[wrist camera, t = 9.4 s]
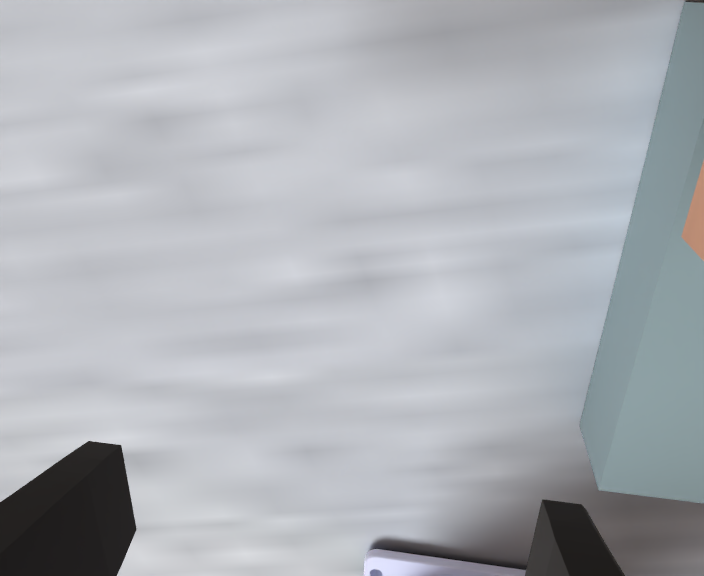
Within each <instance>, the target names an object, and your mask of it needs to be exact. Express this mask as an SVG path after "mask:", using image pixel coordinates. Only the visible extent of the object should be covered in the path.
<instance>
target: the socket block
mask: <svg viewBox="0 0 704 576" xmlns="http://www.w3.org/2000/svg"><path fill="white" fill-rule="evenodd" d="M703 160H704V3H702V2H684V5H683V9H682V13H681V17H680V22H679V26H678V30H677V34H676V38H675V42H674V46H673V50H672V54H671V58H670V62H669V66H668V70H667V74H666V78H665V82H664V86H663V90H662V94H661V98H660V102H659V106H658V110H657V114H656V119H655V123H654V127H653V131H652V135H651V139H650V143H649V147H648V151H647V155H646V159H645V163H644V167H643V171H642V175H641V179H640V183H639V187H638V191H637V195H636V199H635V203H634V207H633V211H632V216H631V220H630V224H629V228H628V232H627V236H626V240H625V244H624V248H623V252H622V256H621V260H620V264H619V268H618V272H617V276H616V280H615V284H614V288H613V292H612V296H611V300H610V304H609V308H608V313H607V317H606V321H605V325H604V329H603V333H602V337H601V341H600V345H599V349H598V353H597V357H596V361H595V365H594V369H593V373H592V377H591V381H590V385H589V389H588V393H587V397H586V401H585V405H584V410H583V414H582V418H581V422H580V429H581V432H582V435H583V439H584V442H585V446H586V449H587V453H588V456H589V459H590V463H591V466H592V470H593V473H594V477H595V480H596V484H597V487H598V490H600V491H608V492H616V493H624V494H632V495H640V496H648V497H656V498H664V499H672V500H680V501H688V502H696V503H704V261H703V260H702V259H701V258H700V257H699V256H698V255H697V253H696V252H695V251H694V250H693V249H692V248H691V247H690V246H689V245H688V244H687V243H686V242H685V240H684V239H683V238H682V237H681V236H682V233H683V229H684V226H685V222H686V219H687V215H688V212H689V209H690V205H691V202H692V198H693V195H694V191H695V188H696V185H697V181H698V178H699V174H700V171H701V167H702V164H703Z"/></svg>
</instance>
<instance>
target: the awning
mask: <svg viewBox="0 0 704 576" xmlns="http://www.w3.org/2000/svg"><path fill="white" fill-rule="evenodd" d="M681 237H682V238H683V239H684V240H685V242H686V243H687V244H688V245H689V246H690V247H691V248H692V249H693V250H694V251H695V252H696V253H697V255H698V256H699V257H700V258H701V259H702V260H703V261H704V160H703V164H702V167H701V171H700V174H699V178H698V181H697V185H696V188H695V191H694V195H693V198H692V202H691V205H690V209H689V212H688V215H687V219H686V222H685V226H684V229H683V233H682V236H681Z"/></svg>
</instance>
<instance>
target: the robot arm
mask: <svg viewBox="0 0 704 576" xmlns="http://www.w3.org/2000/svg"><path fill="white" fill-rule="evenodd" d="M135 531H136V525H135V519H134V514H133V508H132V502H131V497H130V491H129V486H128V480H127V475H126V469H125V464H124V458H123V453H122V447H121V445H115V444H107V443H99V442H92V441H88V442H87V443H85V444H84V445H82V446H81V447H79V448H78V449H76V450H75V451H73V452H72V453H70V454H69V455H67V456H66V457H64V458H63V459H62V460H60V461H59V462H57V463H56V464H54V465H53V466H52V467H50V468H49V469H47V470H46V471H44V472H43V473H42V474H40V475H39V476H37V477H36V478H35V479H33V480H32V481H30V482H29V483H27V484H26V485H25V486H23V487H22V488H20V489H19V490H18V491H16V492H15V493H13V494H12V495H10V496H9V497H7V498H6V499H4V500H3V501H2V502H0V576H117V574H118V571H119V569H120V567H121V565H122V563H123V560H124V558H125V555H126V553H127V551H128V548H129V546H130V543H131V541H132V539H133V536H134V534H135ZM375 569H377V570H375ZM364 576H625V575H624V573H623V572H622V570H621V568H620V567H619V565H618V564H617V562H616V560H615V559H614V557H613V555H612V554H611V552H610V550H609V549H608V547H607V545H606V544H605V542H604V540H603V538H602V537H601V535H600V533H599V531H598V530H597V528H596V526H595V525H594V523H593V521H592V519H591V518H590V516H589V514H588V512H587V511H586V509H585V508H584V507H583V506H582V505H581V504H573V503H565V502H558V501H550V500H542V503H541V507H540V512H539V516H538V520H537V525H536V529H535V533H534V538H533V542H532V547H531V551H530V555H529V560H528V564H527V568H526V570H521V569H514V568H507V567H500V566H493V565H486V564H479V563H472V562H465V561H458V560H451V559H444V558H437V557H430V556H423V555H416V554H409V553H402V552H395V551H388V550H381V549H373V550H370V551H368V552H367V553H366V556H365V562H364Z"/></svg>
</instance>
